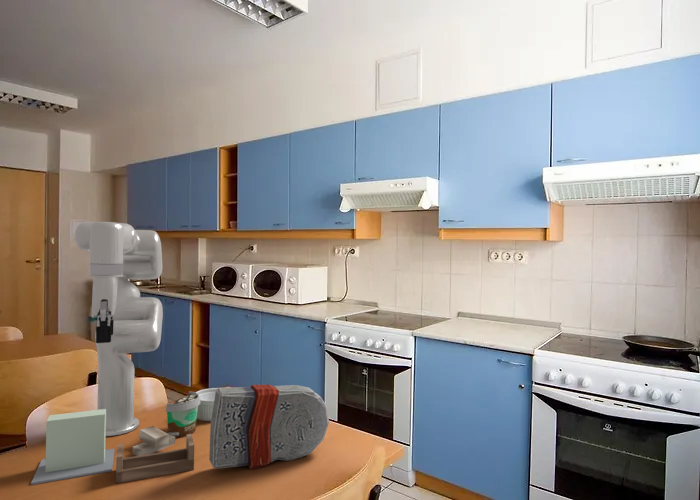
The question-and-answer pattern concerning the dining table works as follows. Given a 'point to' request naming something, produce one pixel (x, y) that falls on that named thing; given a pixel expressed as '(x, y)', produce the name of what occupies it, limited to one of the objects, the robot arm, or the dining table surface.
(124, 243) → the robot arm
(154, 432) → the upper offcut
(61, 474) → the mat
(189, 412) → the food container
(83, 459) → the sheet
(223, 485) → the dining table surface
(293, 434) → the decorative stone tablet
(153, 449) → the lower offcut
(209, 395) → the ramekin
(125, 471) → the rack
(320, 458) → the dining table surface
